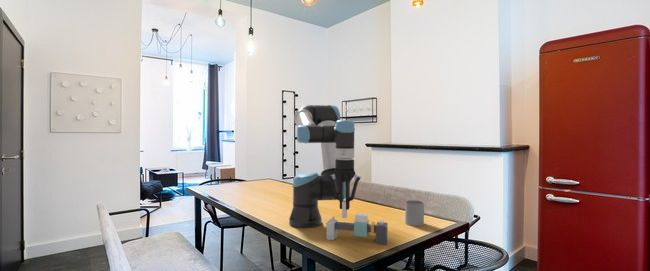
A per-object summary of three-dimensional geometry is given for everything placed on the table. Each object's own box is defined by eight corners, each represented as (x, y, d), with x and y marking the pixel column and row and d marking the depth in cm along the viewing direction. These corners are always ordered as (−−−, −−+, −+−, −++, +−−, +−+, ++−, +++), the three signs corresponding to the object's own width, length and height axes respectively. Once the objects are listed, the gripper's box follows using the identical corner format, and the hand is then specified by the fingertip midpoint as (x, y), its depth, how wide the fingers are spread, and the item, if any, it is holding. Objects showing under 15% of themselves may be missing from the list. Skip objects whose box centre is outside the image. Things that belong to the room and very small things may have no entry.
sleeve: (353, 235, 125) (354, 215, 125) (356, 231, 130) (356, 212, 130) (366, 236, 123) (366, 216, 123) (368, 232, 128) (368, 213, 128)
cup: (424, 226, 144) (424, 204, 144) (405, 225, 146) (405, 203, 146) (422, 221, 153) (422, 200, 152) (405, 220, 154) (405, 200, 154)
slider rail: (326, 239, 127) (326, 219, 127) (330, 234, 133) (330, 215, 133) (386, 245, 121) (386, 224, 121) (387, 240, 127) (387, 220, 127)
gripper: (326, 159, 126) (326, 218, 127) (359, 160, 123) (359, 221, 123) (331, 157, 133) (331, 213, 134) (362, 158, 130) (362, 216, 131)
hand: (344, 217), depth 129 cm, fingers closed
